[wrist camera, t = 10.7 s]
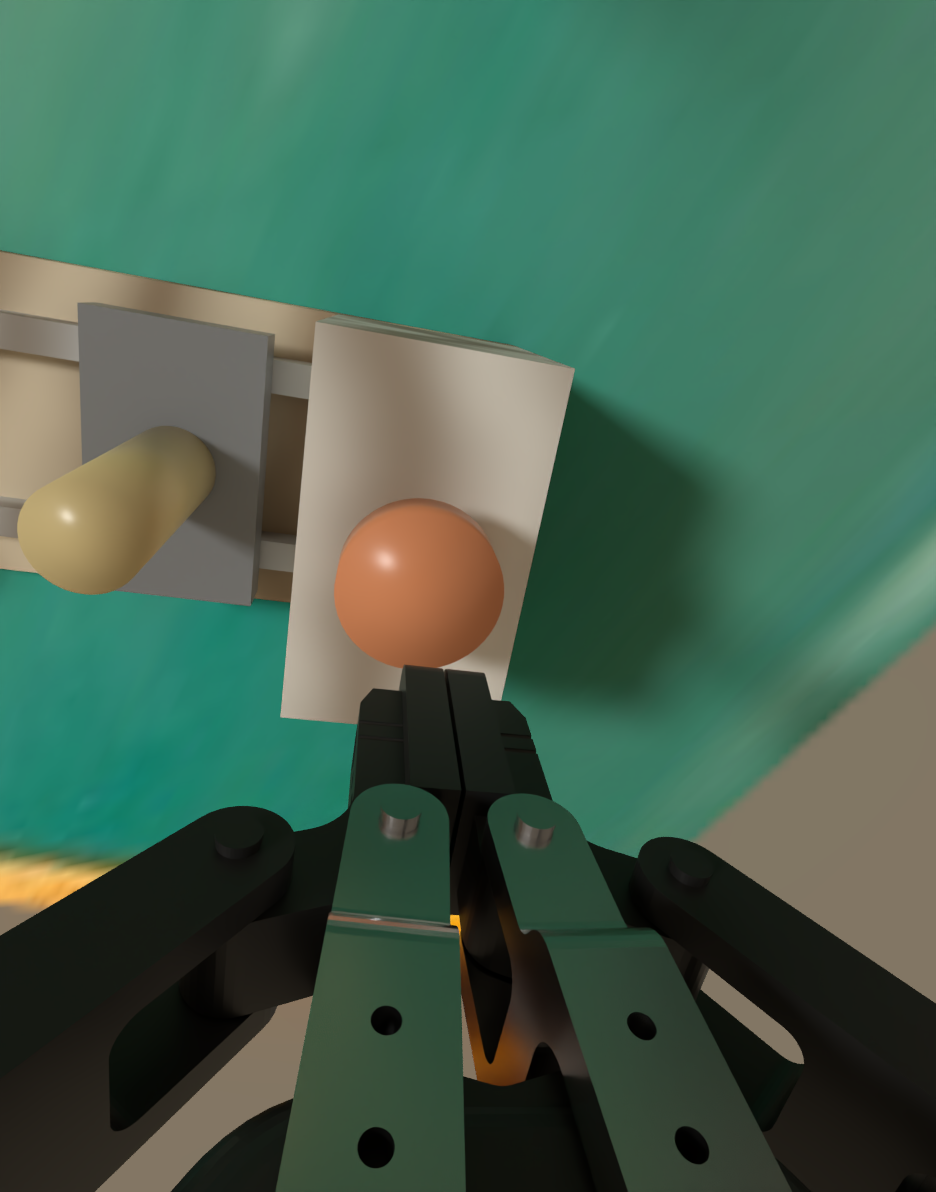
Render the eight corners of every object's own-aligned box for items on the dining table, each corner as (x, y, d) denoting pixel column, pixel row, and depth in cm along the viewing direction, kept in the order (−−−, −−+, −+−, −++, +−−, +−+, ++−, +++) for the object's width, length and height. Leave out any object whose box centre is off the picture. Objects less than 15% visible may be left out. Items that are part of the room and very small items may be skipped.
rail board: (512, 345, 29) (574, 368, 19) (461, 613, 33) (491, 741, 24) (-272, 199, 24) (-706, 136, 15) (-208, 533, 29) (-507, 652, 19)
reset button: (510, 510, 19) (519, 526, 18) (480, 653, 21) (487, 677, 19) (347, 487, 18) (343, 501, 17) (329, 637, 20) (325, 660, 19)
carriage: (275, 333, 25) (214, 353, 16) (257, 590, 29) (199, 719, 20) (96, 302, 24) (-72, 304, 15) (101, 571, 28) (-32, 698, 19)
